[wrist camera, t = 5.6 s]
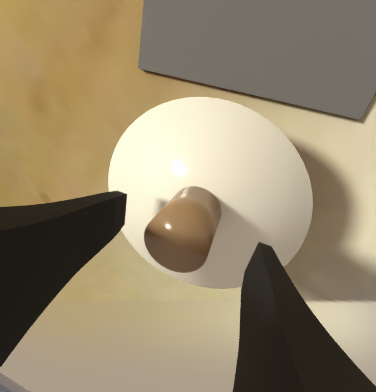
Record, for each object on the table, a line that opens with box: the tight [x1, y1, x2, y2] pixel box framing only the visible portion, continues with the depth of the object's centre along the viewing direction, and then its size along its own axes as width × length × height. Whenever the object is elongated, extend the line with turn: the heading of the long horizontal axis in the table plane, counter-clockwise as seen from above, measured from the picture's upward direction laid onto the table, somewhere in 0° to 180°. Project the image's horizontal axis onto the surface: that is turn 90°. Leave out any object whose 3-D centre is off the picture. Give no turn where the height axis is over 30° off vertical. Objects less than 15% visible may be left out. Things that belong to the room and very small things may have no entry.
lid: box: [108, 97, 313, 289], centre depth 11 cm, size 12×12×4 cm
